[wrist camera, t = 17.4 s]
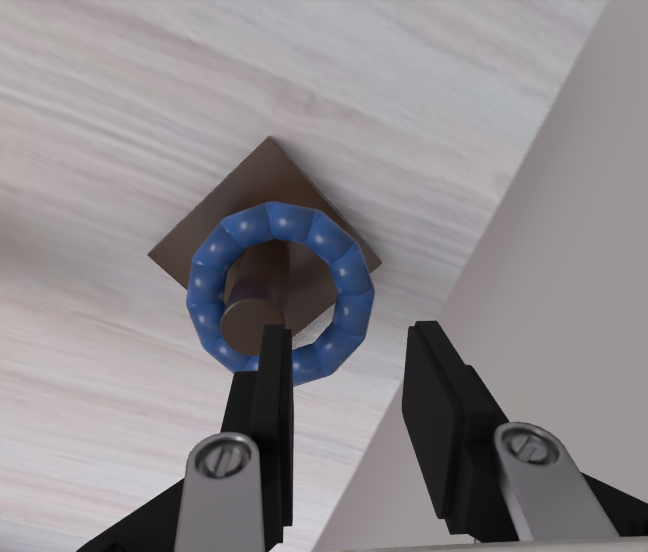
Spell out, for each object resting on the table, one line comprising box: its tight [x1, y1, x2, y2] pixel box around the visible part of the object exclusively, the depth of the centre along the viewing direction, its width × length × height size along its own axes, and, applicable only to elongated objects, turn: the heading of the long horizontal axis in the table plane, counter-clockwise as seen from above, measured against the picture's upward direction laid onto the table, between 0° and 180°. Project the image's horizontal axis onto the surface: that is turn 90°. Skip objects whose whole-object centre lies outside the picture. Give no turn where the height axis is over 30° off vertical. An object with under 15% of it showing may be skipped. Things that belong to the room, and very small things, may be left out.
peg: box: [148, 136, 382, 356], centre depth 18 cm, size 8×8×8 cm
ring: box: [186, 201, 375, 387], centre depth 17 cm, size 7×7×1 cm
